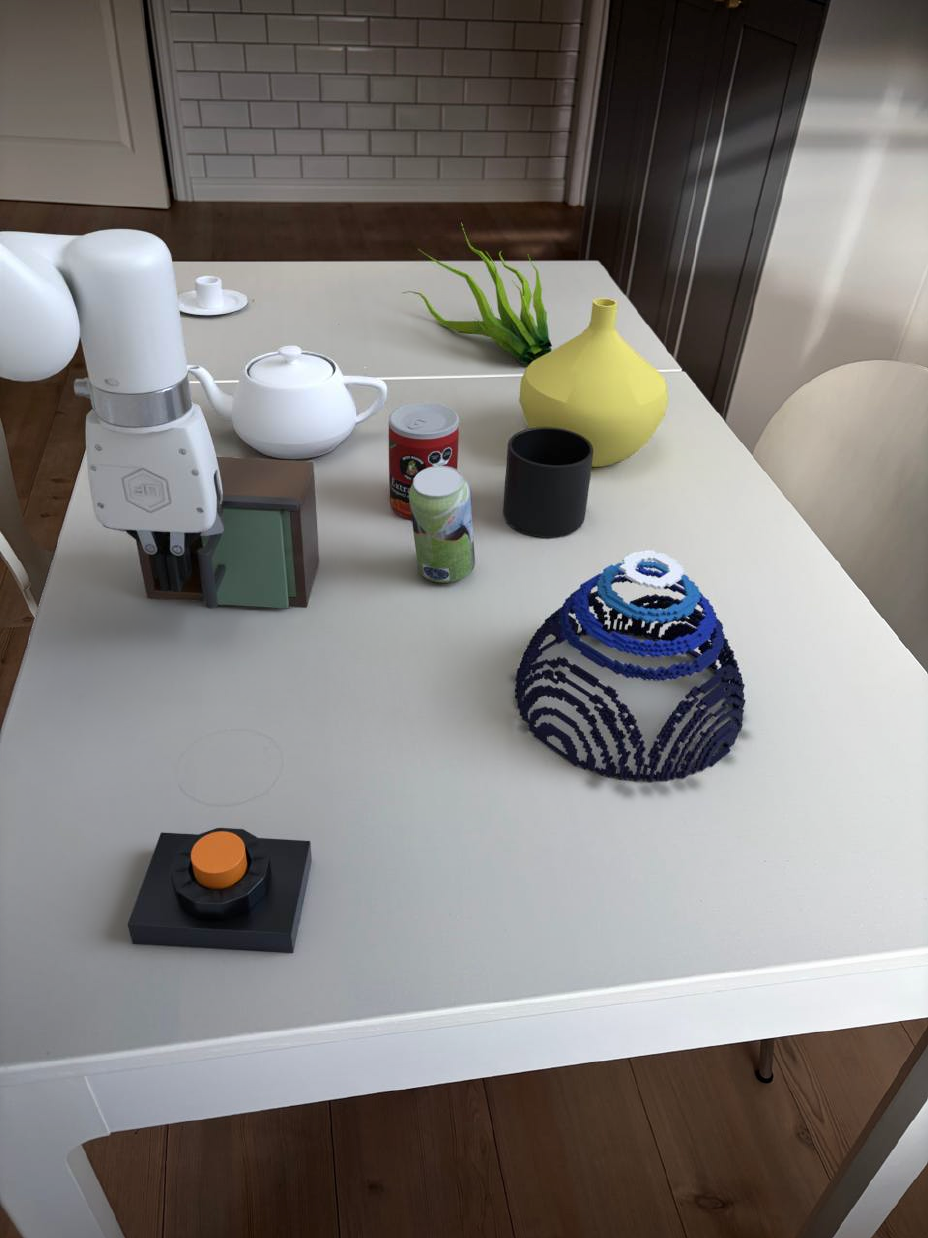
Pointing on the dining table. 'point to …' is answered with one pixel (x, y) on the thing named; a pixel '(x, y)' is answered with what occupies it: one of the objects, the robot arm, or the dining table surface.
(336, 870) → the dining table surface
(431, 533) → the beverage can
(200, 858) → the button
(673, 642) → the decorative bowl
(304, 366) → the teapot
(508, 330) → the decorative plant
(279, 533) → the closet door
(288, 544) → the closet
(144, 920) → the switch block
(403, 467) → the canned food
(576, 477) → the mug
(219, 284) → the candle holder
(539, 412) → the vase
